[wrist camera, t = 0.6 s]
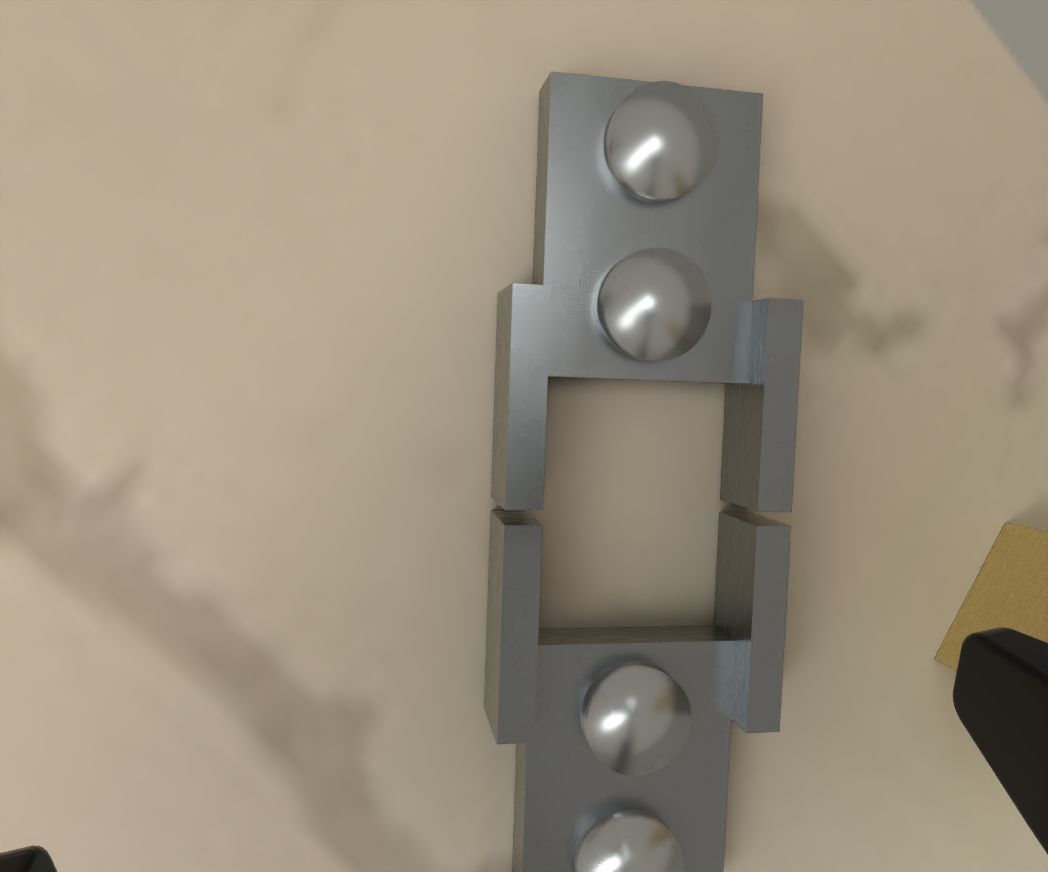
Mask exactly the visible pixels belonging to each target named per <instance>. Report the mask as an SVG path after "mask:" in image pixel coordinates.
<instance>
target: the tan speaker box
mask: <svg viewBox="0 0 1048 872" xmlns="http://www.w3.org/2000/svg"><path fill="white" fill-rule="evenodd" d="M997 627H1006V628H1011V629H1014V630H1016V631H1019V632H1021V633H1024V634H1026V635H1029V636H1032V637H1034V638H1037V639H1039V640H1042V641H1044V642H1047V643H1048V532H1046V531H1042V530H1037V529H1033V528H1028V527H1024V526H1019V525H1015V524H1011V523H1005V524H1004V526H1003V528H1002V530H1001V532H1000V534H999V536H998V538H997V540H996V542H995V544H994V546H993V547H992V549H991V551H990V553H989V555H988V557H987V559H986V561H985V563H984V565H983V567H982V568H981V570H980V572H979V574H978V576H977V578H976V580H975V582H974V584H973V586H972V588H971V590H970V591H969V593H968V595H967V597H966V599H965V601H964V603H963V605H962V607H961V609H960V611H959V612H958V614H957V616H956V618H955V620H954V622H953V624H952V626H951V628H950V630H949V632H948V633H947V635H946V637H945V639H944V641H943V643H942V645H941V647H940V649H939V651H938V653H937V655H936V656H935V658H934V659H936V660H938V661H939V662H941V663H943V664H945V665H947V666H948V667H950V668H952V669H954V670H956V671H957V667H958V662H959V656H960V651H961V646H962V643H963V641H964V639H965V638H966V637H967V636H968V635H970V634H971V633H975V632H980V631H984V630H988V629H993V628H997Z"/></svg>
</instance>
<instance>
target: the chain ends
mask: <svg viewBox="0 0 1048 872" xmlns="http://www.w3.org/2000/svg"><path fill="white" fill-rule="evenodd" d="M762 103H763V94H760V93H751V92H741V91H732V90H722V89H713V88H703V87H694V86H684V85H681V84H678V83H674V82H668V81H659V82H646V81H637V80H627V79H618V78H608V77H598V76H589V75H579V74H570V73H560V72H551V73H550V74H549V76H548V78H547V79H546V81H545V83H544V84H543V86H542V88H541V89H540V97H539V126H538V154H537V182H536V211H535V239H534V267H533V284H516V283H512V284H511V285H509V286H508V287H506V288H505V289H503V290H502V291H500V292H499V293H498V304H497V335H496V365H495V396H494V426H493V457H492V487H491V497H492V498H493V499H494V500H495V501H496V502H497V503H498V504H499V505H500V506H501V507H502V508H504V509H505V510H543V497H544V470H545V442H546V415H547V388H548V377H574V378H601V379H628V380H655V381H682V382H709V383H726V393H725V413H724V434H723V454H722V474H721V494H720V499H722V500H725V501H728V502H731V503H734V504H736V505H739V506H742V507H745V508H748V509H751V510H754V511H757V512H792V496H793V478H794V460H795V441H796V423H797V405H798V387H799V368H800V350H801V332H802V314H803V300H795V299H778V298H767V299H762V300H757V301H752V299H753V279H754V260H755V240H756V221H757V201H758V182H759V162H760V142H761V123H762ZM790 532H791V526H788V525H785V524H782V523H780V522H777V521H774V520H771V519H768V518H765V517H762V516H760V515H757V514H754V513H751V512H720V514H719V534H718V555H717V575H716V595H715V615H714V626H678V627H626V628H575V629H539V606H540V579H541V552H542V525H541V524H540V523H539V522H538V521H537V520H535V519H534V518H533V517H532V516H531V515H529V514H528V513H527V512H526V511H491V518H490V548H489V579H488V609H487V640H486V670H485V701H484V708H485V711H486V714H487V717H488V720H489V723H490V725H491V728H492V731H493V734H494V737H495V740H496V742H497V744H514V743H517V749H516V777H515V806H514V834H513V862H512V872H723V865H724V845H725V826H726V806H727V787H728V767H729V748H730V728H731V719H732V720H733V721H734V722H735V723H736V724H737V725H738V726H739V727H740V728H741V729H742V730H743V731H744V732H746V733H760V732H780V715H781V696H782V678H783V660H784V642H785V624H786V605H787V587H788V569H789V551H790Z"/></svg>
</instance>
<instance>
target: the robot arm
mask: <svg viewBox="0 0 1048 872" xmlns="http://www.w3.org/2000/svg"><path fill="white" fill-rule="evenodd" d="M953 702H954V706H955V709H956V712H957V714H958V716H959V718H960V720H961V722H962V723H963V725H964V726H965V728H966V729H967V731H968V732H969V734H970V736H971V737H972V739H973V740H974V742H975V743H976V745H977V747H978V748H979V750H980V751H981V753H982V754H983V756H984V757H985V759H986V761H987V762H988V764H989V765H990V767H991V768H992V770H993V771H994V773H995V775H996V776H997V778H998V779H999V781H1000V782H1001V784H1002V786H1003V787H1004V789H1005V790H1006V792H1007V793H1008V795H1009V796H1010V798H1011V800H1012V801H1013V803H1014V804H1015V806H1016V807H1017V809H1018V810H1019V812H1020V814H1021V815H1022V817H1023V818H1024V820H1025V821H1026V823H1027V825H1028V826H1029V828H1030V829H1031V831H1032V832H1033V834H1034V835H1035V837H1036V838H1037V839H1038V841H1039V842H1040V844H1041V845H1042V847H1043V848H1044V850H1045V851H1046V853H1047V854H1048V643H1047V642H1044V641H1042V640H1039V639H1037V638H1034V637H1032V636H1029V635H1026V634H1024V633H1021V632H1019V631H1016V630H1014V629H1011V628H1006V627H997V628H993V629H988V630H984V631H980V632H975V633H971V634H970V635H968V636H967V637H966V638H965V639H964V641H963V643H962V646H961V651H960V656H959V662H958V667H957V672H956V678H955V683H954V689H953ZM0 872H57V870H56V868H55V866H54V863H53V861H52V859H51V857H50V855H49V854H48V852H47V850H45V849H44V848H43V847H41V846H29V847H25V848H21V849H16V850H12V851H7V852H3V853H0Z"/></svg>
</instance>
